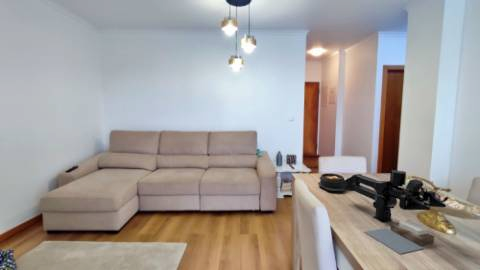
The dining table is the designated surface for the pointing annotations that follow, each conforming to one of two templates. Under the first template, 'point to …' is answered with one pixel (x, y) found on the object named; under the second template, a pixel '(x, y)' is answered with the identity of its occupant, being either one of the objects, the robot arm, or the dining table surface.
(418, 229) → the thick white tile
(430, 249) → the dining table surface
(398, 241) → the mat
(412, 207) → the robot arm
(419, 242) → the brown rectangular block
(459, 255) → the dining table surface
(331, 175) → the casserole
